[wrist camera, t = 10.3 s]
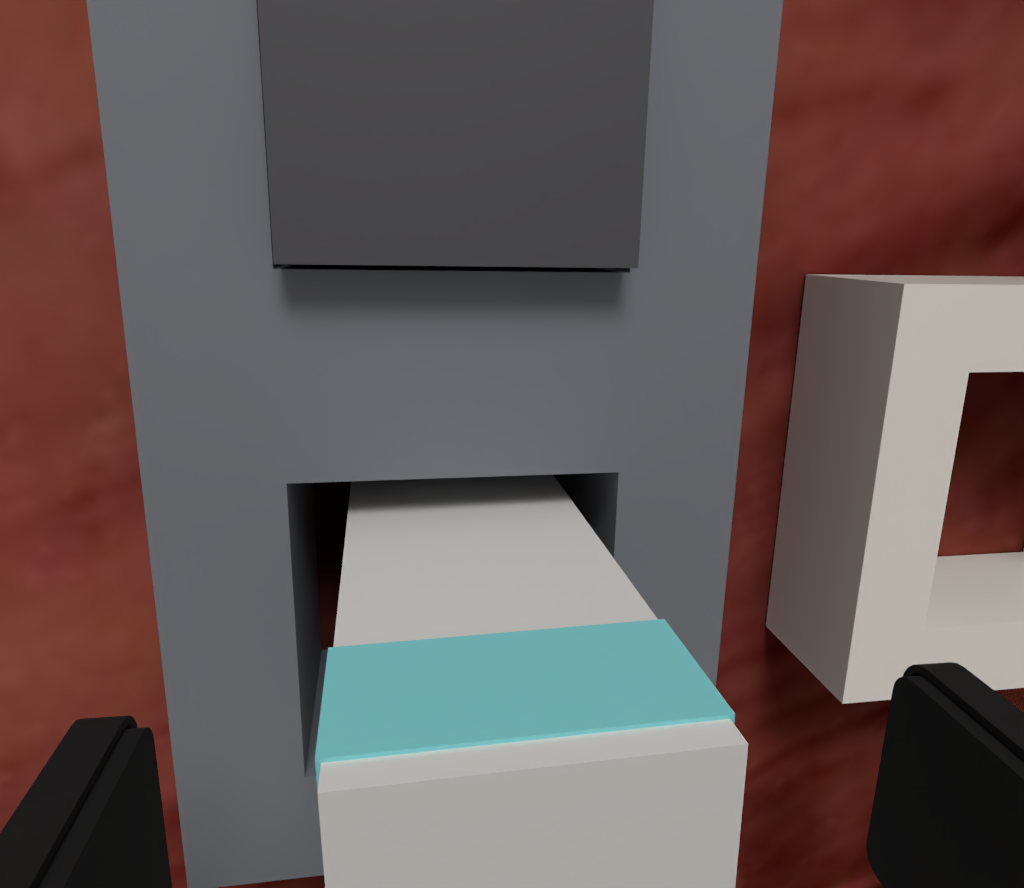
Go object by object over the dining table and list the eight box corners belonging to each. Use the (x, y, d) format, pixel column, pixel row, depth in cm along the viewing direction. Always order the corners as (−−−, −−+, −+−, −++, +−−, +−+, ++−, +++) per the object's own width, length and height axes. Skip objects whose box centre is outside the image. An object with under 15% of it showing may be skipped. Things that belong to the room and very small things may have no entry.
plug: (532, 441, 18) (753, 739, 7) (531, 603, 19) (722, 1062, 8) (352, 449, 17) (311, 788, 7) (361, 616, 18) (339, 1133, 8)
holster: (1138, 277, 19) (1297, 286, 16) (1064, 604, 22) (1189, 672, 18) (806, 274, 18) (904, 283, 14) (765, 626, 20) (842, 703, 17)
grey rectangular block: (689, -145, 15) (839, -327, 10) (632, 704, 20) (715, 858, 15) (148, -200, 14) (14, -450, 9) (231, 738, 18) (178, 923, 14)
